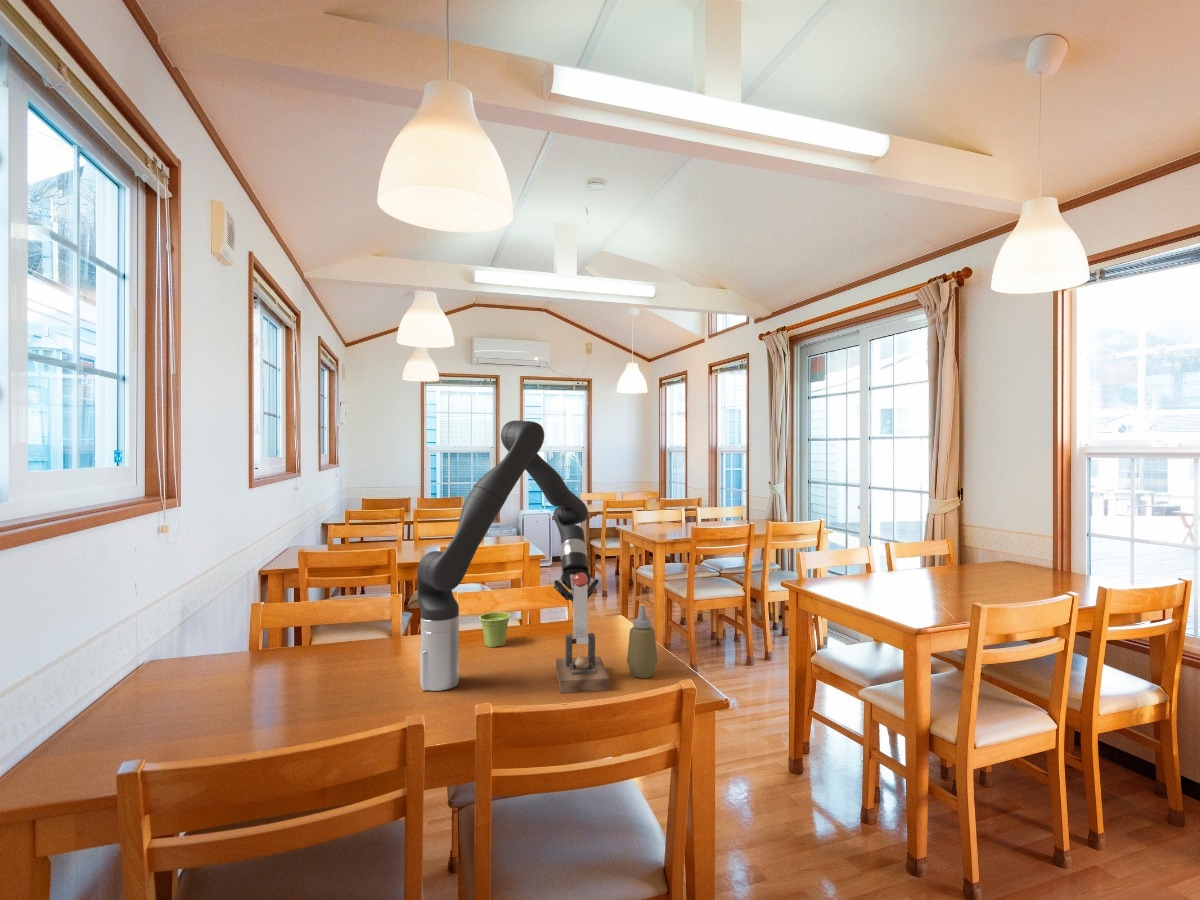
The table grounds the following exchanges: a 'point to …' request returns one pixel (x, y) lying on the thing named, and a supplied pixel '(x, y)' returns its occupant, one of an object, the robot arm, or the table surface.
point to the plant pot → (494, 628)
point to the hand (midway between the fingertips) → (578, 611)
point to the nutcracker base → (581, 679)
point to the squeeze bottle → (642, 647)
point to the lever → (580, 608)
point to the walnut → (582, 663)
